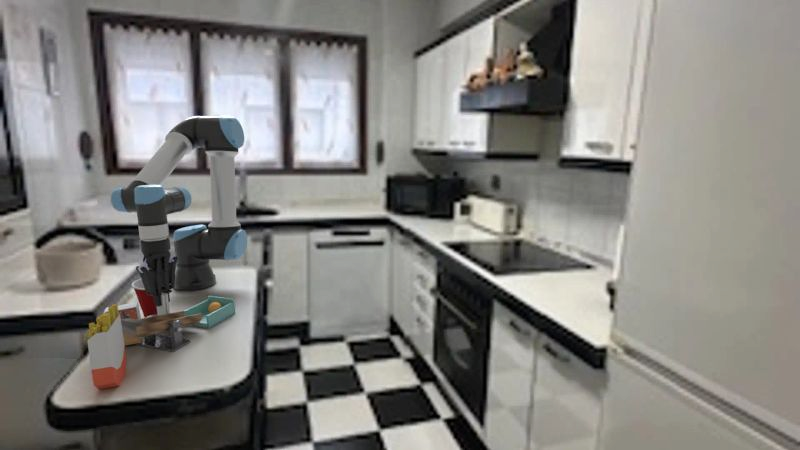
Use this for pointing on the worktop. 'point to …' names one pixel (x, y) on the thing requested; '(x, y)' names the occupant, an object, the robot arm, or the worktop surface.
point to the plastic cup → (144, 299)
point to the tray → (215, 316)
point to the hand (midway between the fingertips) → (163, 314)
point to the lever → (156, 324)
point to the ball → (214, 307)
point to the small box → (131, 313)
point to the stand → (166, 339)
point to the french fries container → (107, 349)
